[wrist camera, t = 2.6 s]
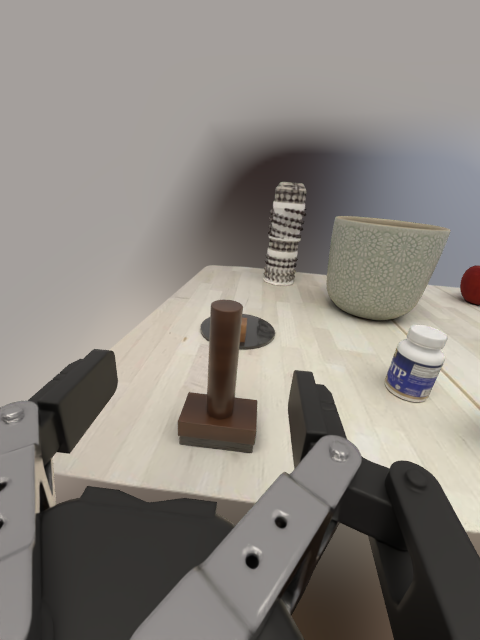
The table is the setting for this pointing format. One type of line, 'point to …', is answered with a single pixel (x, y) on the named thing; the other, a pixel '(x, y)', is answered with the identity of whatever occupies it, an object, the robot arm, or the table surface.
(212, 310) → the wooden peg
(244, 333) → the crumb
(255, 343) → the plate
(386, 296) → the planter
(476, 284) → the apple
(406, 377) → the pill bottle
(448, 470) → the table surface
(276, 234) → the white patterned cylinder
